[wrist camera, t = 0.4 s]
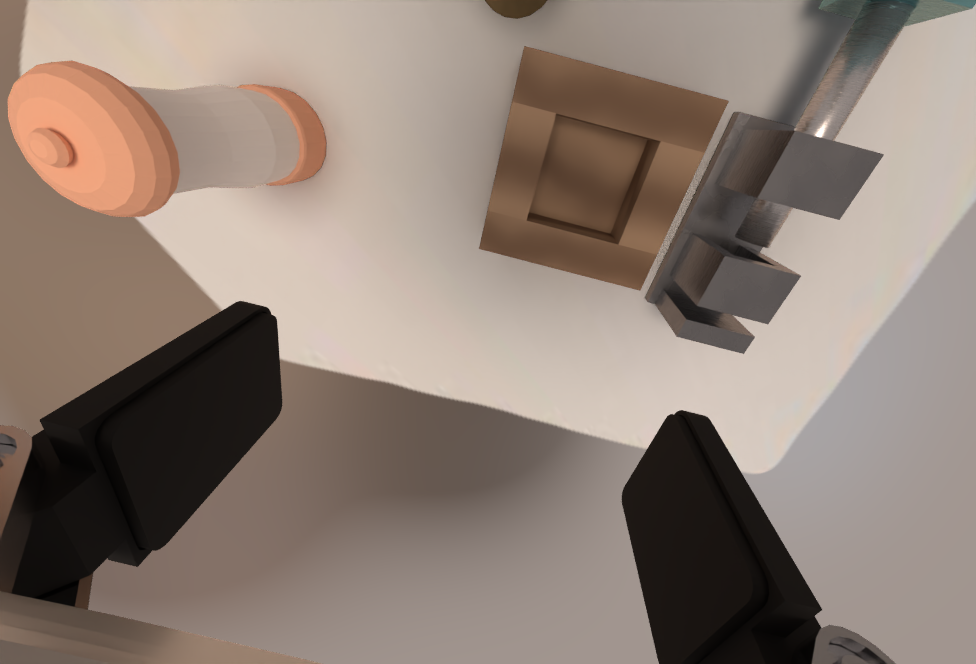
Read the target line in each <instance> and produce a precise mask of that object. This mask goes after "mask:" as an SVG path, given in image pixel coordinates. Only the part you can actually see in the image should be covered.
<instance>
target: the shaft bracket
mask: <svg viewBox="0 0 976 664" xmlns="http://www.w3.org/2000/svg"><path fill="white" fill-rule="evenodd" d="M794 129H795V127H793V126H790V125H786V124H782V123H778V122H775V121H771V120H767V119H764V118H760V117H756V116H752V115H749V114H745V113H741V112H735V113H733V115H732V118H731V120H730V122H729V124H728V126H727V128H726V130H725V132H724V134H723V136H722V138H721V140H720V143H719V145H718V147H717V149H716V151H715V153H714V155H713V157H712V159H711V161H710V163H709V166H708V168H707V170H706V172H705V174H704V176H703V178H702V180H701V182H700V184H699V186H698V188H697V191H696V193H695V195H694V197H693V199H692V201H691V203H690V205H689V207H688V209H687V211H686V214H685V216H684V218H683V220H682V222H681V224H680V226H679V228H678V230H677V232H676V234H675V236H674V239H673V241H672V243H671V245H670V247H669V249H668V251H667V253H666V255H665V257H664V259H663V262H662V264H661V266H660V268H659V270H658V272H657V274H656V276H655V278H654V280H653V282H652V284H651V287H650V289H649V291H648V293H647V295H646V297H645V298H646V300H647V301H648V302H650V303H654V304H655V305H656V306H657V308H658V309H659V311H660V312H661V314H662V315H663V317H664V318H665V320H666V321H667V323H668V324H669V326H670V327H671V329H672V330H673V332H674V333H675V335H676V336H677V337H681V338H684V339H688V340H692V341H696V342H700V343H704V344H708V345H712V346H715V347H719V348H723V349H727V350H731V351H735V352H739V353H743V354H744V353H745V351H746V350H747V348H748V347H749V345H750V344H751V342H752V341H753V339H754V338H755V337H754V336H753V335H752V334H751V333H750V332H749V331H748V330H747V329H746V328H745V327H744V326H743V325H742V324H741V323H740V322H739V321H738V320H737V319H736V318H735V317H734V316H738V317H742V318H746V319H750V320H754V321H758V322H761V323H765V324H769V322H770V321H771V319H772V318H773V316H774V315H775V313H776V312H777V310H778V309H779V308H780V306H781V305H782V303H783V302H784V300H785V299H786V297H787V296H788V294H789V293H790V291H791V290H792V288H793V287H794V286H795V284H796V283H797V281H798V280H799V278H800V277H801V276H800V275H799V274H797V273H795V272H793V271H792V270H790V269H788V268H786V267H785V266H783V265H781V264H779V263H778V262H776V261H774V260H772V259H771V258H769V257H767V256H765V255H764V254H762V253H760V251H761V249H762V248H763V247H761V246H757V245H754V244H751V243H748V242H745V241H743V240H740V239H738V238H736V237H735V235H736V233H737V231H738V229H739V227H740V226H741V224H742V222H743V220H744V218H745V217H746V215H747V213H748V211H749V209H750V208H751V206H752V204H753V202H754V200H755V199H756V198H758V199H762V200H766V201H770V202H774V203H777V204H781V205H785V206H789V207H792V208H796V209H800V210H804V211H808V212H811V213H815V214H819V215H823V216H826V217H830V218H834V219H838V220H840V218H841V217H842V215H843V214H844V212H845V211H846V209H847V208H848V206H849V205H850V204H851V202H852V201H853V199H854V198H855V196H856V195H857V193H858V192H859V190H860V189H861V187H862V186H863V185H864V183H865V182H866V180H867V179H868V177H869V176H870V174H871V173H872V171H873V170H874V168H875V167H876V165H877V164H878V163H879V161H880V160H881V158H882V157H883V155H884V154H880V153H877V152H873V151H869V150H866V149H862V148H858V147H854V146H851V145H847V144H843V143H839V142H836V141H832V140H828V139H824V138H821V137H817V136H813V135H810V134H806V133H802V132H798V131H794ZM733 315H734V316H733Z"/></svg>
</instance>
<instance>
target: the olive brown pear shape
mask: <svg viewBox="0 0 976 664" xmlns="http://www.w3.org/2000/svg"><path fill="white" fill-rule="evenodd" d="M485 1H486V2H487V4H488V5H489V6H490V7H491V8H492V9H493V10H494V11H495V12H497V13H499V14H501V15H502V16H504V17H509V18H517V19H518V18H522V17H525V16H529V15H531V14H533V13H534V12H535V11H537V10H538V9H540V8H541V7H542V6H543V5H544V4H545V2H546V1H547V0H485Z"/></svg>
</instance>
